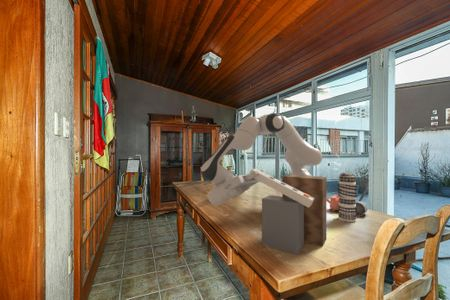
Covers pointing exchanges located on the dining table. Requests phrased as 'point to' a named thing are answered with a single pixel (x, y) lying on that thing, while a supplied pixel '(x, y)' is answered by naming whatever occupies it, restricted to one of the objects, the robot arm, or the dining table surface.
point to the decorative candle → (347, 197)
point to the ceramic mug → (361, 208)
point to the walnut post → (316, 211)
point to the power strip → (284, 188)
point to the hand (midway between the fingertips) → (259, 172)
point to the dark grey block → (283, 223)
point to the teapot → (333, 202)
